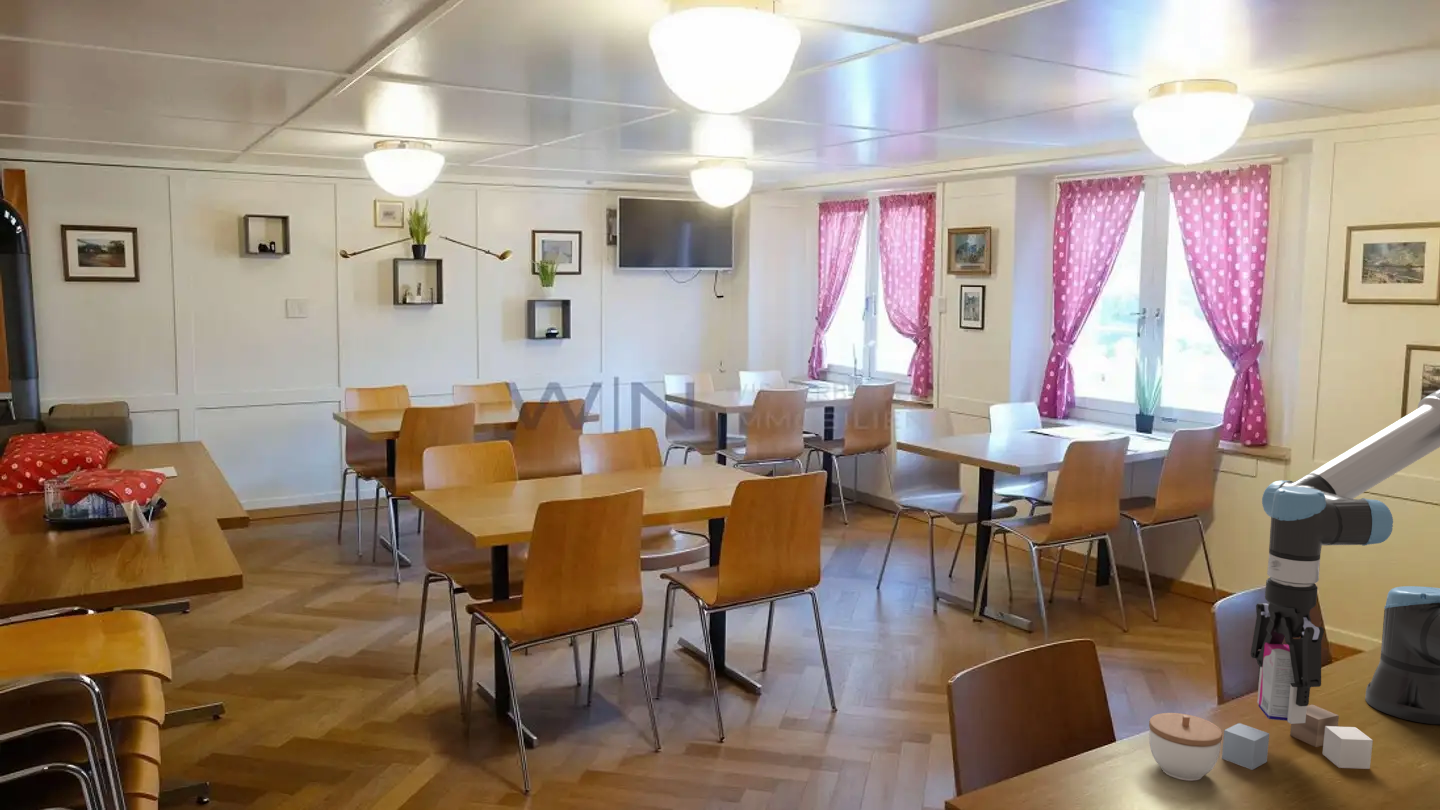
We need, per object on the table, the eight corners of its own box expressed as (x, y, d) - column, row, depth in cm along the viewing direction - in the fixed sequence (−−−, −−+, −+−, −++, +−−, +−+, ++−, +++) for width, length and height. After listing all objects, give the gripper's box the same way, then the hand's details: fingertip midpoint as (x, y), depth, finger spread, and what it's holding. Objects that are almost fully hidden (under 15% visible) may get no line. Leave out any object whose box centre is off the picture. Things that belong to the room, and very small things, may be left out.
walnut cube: (1310, 731, 187) (1312, 704, 186) (1336, 743, 182) (1338, 715, 182) (1290, 735, 185) (1292, 708, 184) (1315, 747, 180) (1318, 719, 180)
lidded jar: (1221, 767, 172) (1226, 712, 171) (1214, 794, 163) (1219, 736, 162) (1151, 751, 177) (1155, 697, 176) (1140, 776, 168) (1145, 720, 167)
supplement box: (1306, 723, 175) (1312, 656, 173) (1267, 719, 176) (1273, 653, 174) (1294, 709, 180) (1300, 644, 179) (1257, 705, 182) (1262, 641, 180)
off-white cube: (1352, 755, 178) (1355, 727, 177) (1369, 769, 173) (1372, 740, 172) (1322, 754, 178) (1325, 726, 177) (1338, 768, 173) (1341, 739, 172)
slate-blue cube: (1236, 751, 178) (1239, 722, 178) (1266, 762, 174) (1269, 733, 174) (1221, 758, 175) (1224, 730, 175) (1252, 770, 171) (1254, 741, 171)
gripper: (1233, 564, 185) (1224, 690, 187) (1313, 599, 165) (1300, 739, 168) (1273, 563, 186) (1262, 689, 188) (1356, 598, 166) (1343, 737, 169)
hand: (1280, 712), depth 178 cm, fingers closed on supplement box, 7 cm apart
